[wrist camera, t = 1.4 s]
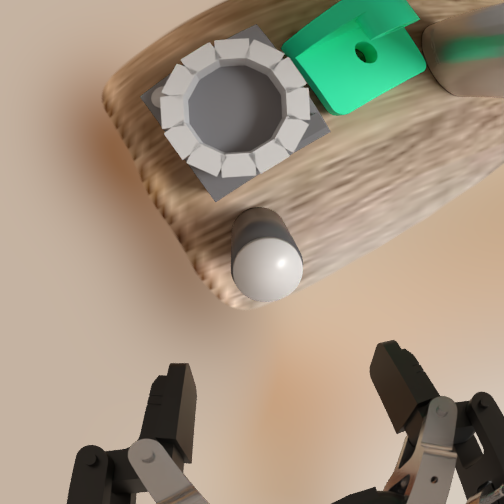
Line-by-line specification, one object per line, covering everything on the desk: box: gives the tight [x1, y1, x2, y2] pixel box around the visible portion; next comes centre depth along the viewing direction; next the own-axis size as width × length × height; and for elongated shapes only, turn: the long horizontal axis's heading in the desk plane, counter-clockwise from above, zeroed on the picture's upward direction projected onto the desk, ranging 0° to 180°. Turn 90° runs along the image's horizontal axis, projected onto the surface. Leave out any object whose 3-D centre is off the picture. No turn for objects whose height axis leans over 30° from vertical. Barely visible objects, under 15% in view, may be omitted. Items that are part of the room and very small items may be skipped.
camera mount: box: [281, 0, 426, 116], centre depth 14 cm, size 12×8×10 cm, turn 126°
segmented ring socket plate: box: [140, 24, 331, 202], centre depth 18 cm, size 10×10×6 cm
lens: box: [231, 207, 303, 302], centre depth 22 cm, size 5×5×8 cm
